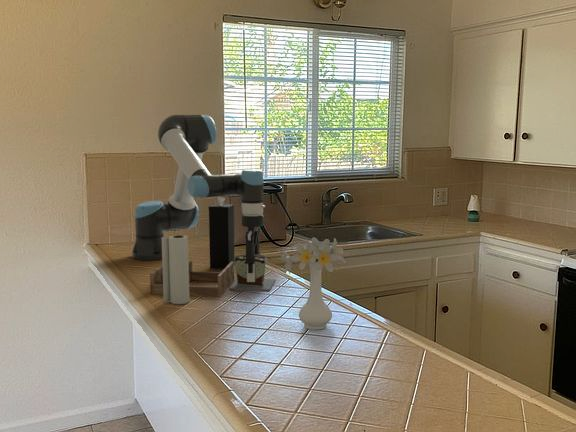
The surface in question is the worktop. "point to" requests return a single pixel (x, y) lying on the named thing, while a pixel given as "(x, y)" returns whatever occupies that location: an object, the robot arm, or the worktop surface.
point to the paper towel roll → (175, 269)
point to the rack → (222, 277)
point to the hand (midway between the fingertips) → (253, 278)
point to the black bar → (221, 234)
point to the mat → (266, 286)
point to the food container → (242, 270)
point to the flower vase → (315, 279)
